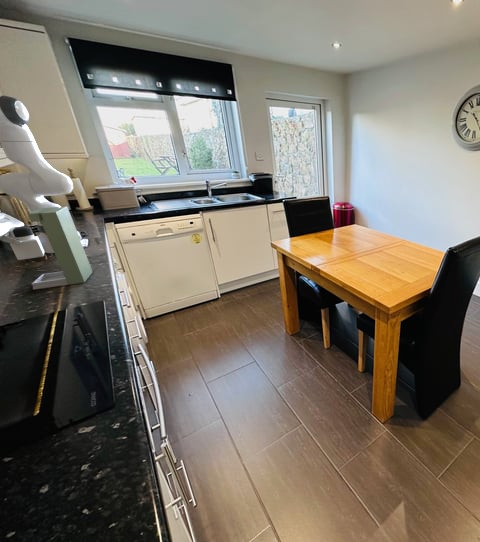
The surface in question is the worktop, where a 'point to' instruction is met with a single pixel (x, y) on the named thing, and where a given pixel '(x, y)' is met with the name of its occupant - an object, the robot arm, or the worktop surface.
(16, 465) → the worktop surface
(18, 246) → the medicine bottle
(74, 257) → the sage green upright pillar
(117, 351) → the worktop surface
